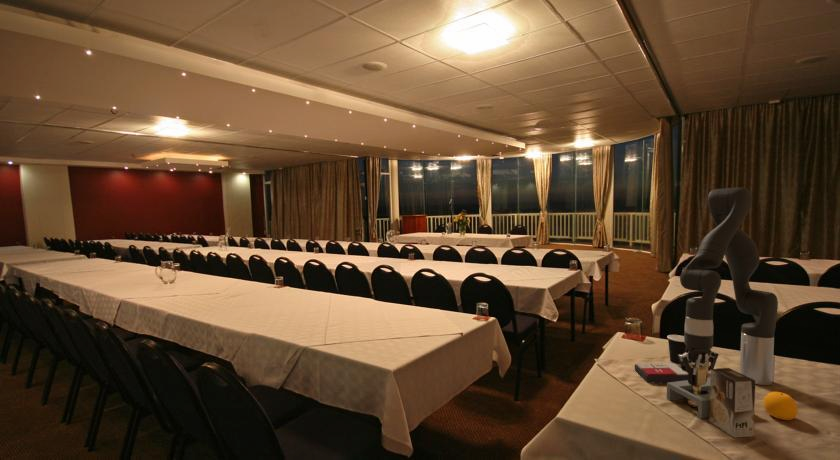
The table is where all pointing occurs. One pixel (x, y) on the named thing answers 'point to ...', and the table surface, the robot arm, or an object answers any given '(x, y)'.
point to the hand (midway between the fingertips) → (697, 384)
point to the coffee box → (732, 402)
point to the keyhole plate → (691, 395)
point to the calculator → (660, 372)
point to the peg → (698, 384)
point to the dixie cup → (676, 348)
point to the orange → (780, 406)
